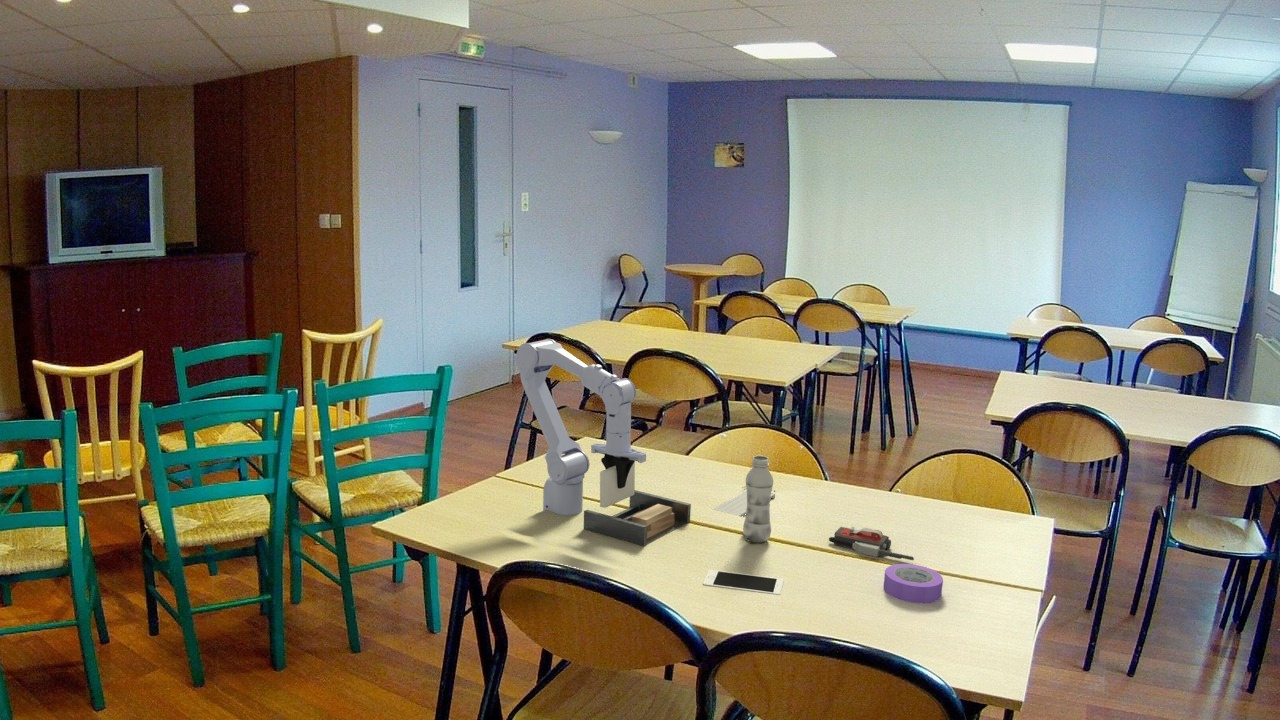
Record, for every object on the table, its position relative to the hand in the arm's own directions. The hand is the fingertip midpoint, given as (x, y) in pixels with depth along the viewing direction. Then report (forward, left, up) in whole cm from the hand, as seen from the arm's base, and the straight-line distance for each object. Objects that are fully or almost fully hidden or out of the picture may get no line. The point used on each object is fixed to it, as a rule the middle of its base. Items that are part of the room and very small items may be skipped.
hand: (617, 486), depth 234 cm
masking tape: (+69, +9, -11) cm, 71 cm away
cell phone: (+39, -9, -11) cm, 42 cm away
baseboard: (+15, +30, -11) cm, 35 cm away
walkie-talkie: (+54, +26, -11) cm, 61 cm away
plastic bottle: (+30, +14, -11) cm, 35 cm away
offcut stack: (+9, +2, -9) cm, 13 cm away
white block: (0, 0, -3) cm, 3 cm away
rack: (+5, +2, -10) cm, 12 cm away
